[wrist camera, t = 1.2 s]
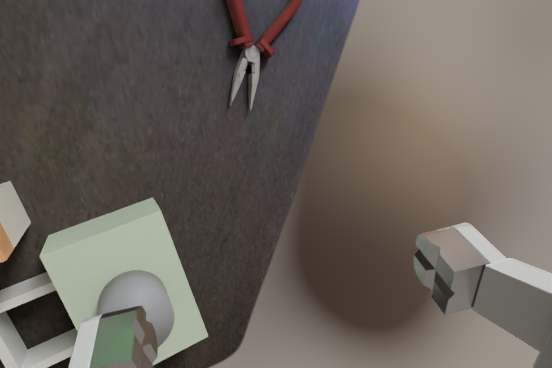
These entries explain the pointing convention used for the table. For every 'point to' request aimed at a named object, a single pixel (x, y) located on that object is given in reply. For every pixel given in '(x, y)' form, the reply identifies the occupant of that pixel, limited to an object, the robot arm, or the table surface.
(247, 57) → the pliers
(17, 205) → the two-tone orange block
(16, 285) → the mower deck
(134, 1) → the table surface
